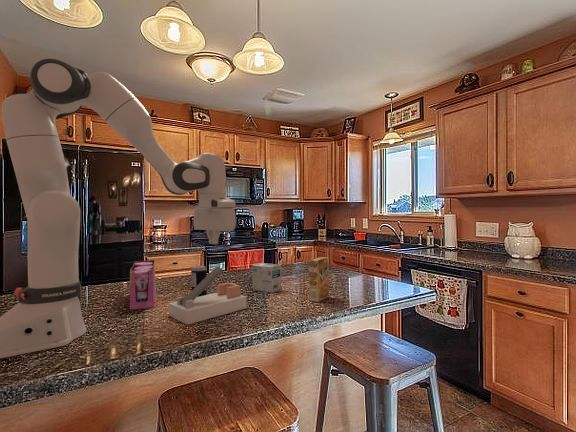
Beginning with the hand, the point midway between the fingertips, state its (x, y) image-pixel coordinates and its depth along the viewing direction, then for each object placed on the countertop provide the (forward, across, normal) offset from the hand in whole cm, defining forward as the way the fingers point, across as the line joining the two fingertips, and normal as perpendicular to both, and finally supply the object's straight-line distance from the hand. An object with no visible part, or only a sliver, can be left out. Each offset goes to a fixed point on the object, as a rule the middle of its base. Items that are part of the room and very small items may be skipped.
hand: (213, 243), depth 109 cm
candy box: (+23, +17, +35) cm, 45 cm away
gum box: (+23, -30, -11) cm, 39 cm away
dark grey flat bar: (+14, 0, -4) cm, 14 cm away
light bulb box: (+23, -8, +31) cm, 39 cm away
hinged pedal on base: (+22, 0, -2) cm, 23 cm away
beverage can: (+23, -18, +5) cm, 29 cm away
